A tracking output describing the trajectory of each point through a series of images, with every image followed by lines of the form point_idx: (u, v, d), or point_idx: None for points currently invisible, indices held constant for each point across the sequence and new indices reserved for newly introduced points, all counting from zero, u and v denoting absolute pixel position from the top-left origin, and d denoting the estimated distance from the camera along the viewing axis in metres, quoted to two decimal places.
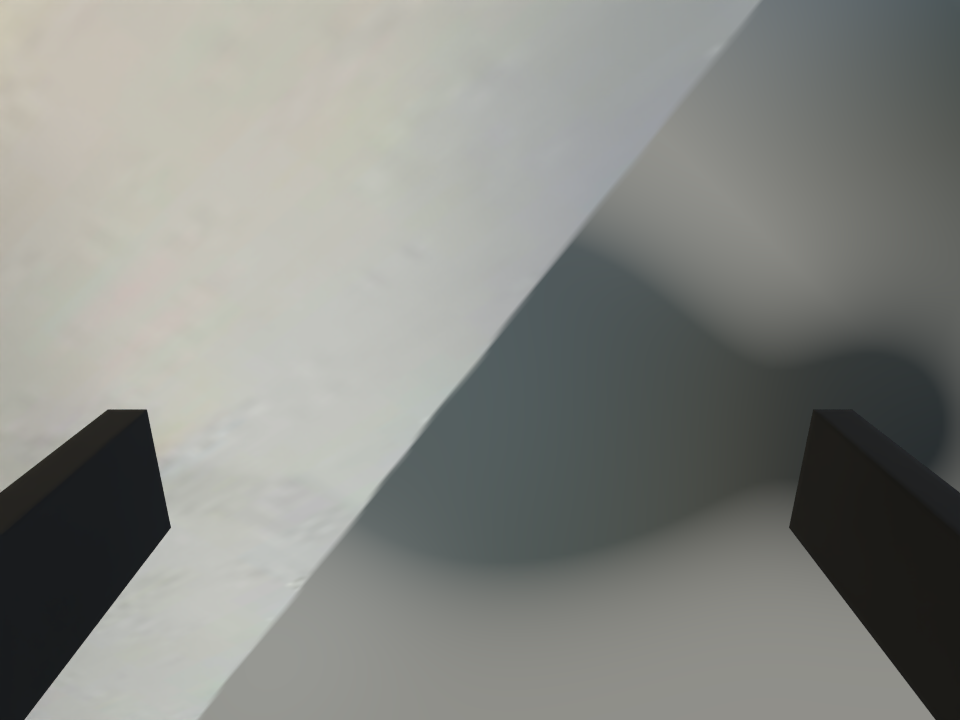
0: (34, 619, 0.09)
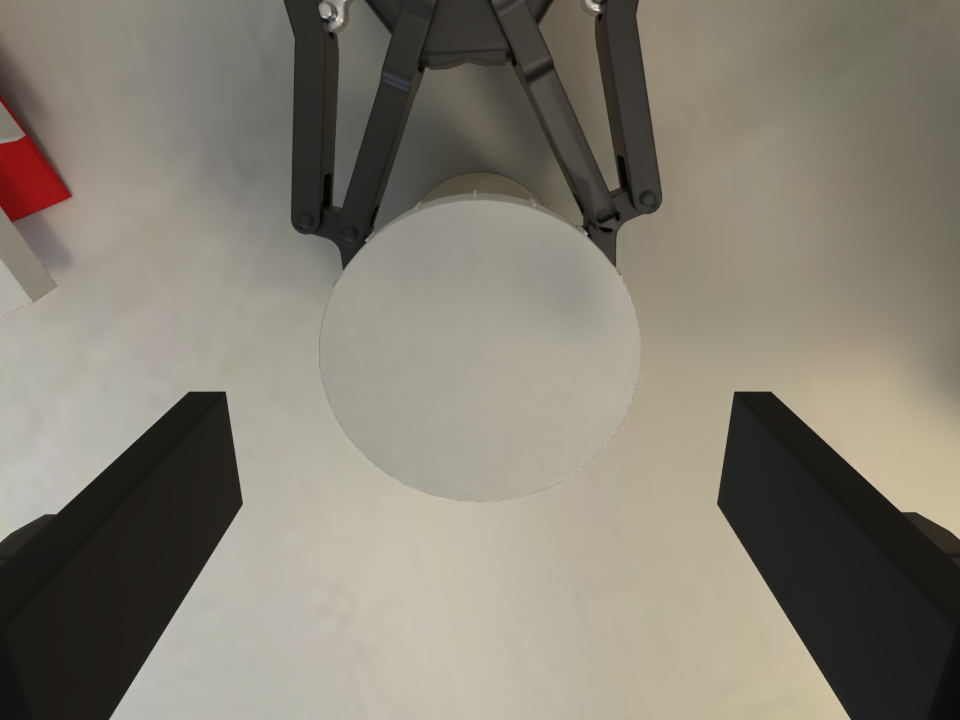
0: (146, 579, 0.10)
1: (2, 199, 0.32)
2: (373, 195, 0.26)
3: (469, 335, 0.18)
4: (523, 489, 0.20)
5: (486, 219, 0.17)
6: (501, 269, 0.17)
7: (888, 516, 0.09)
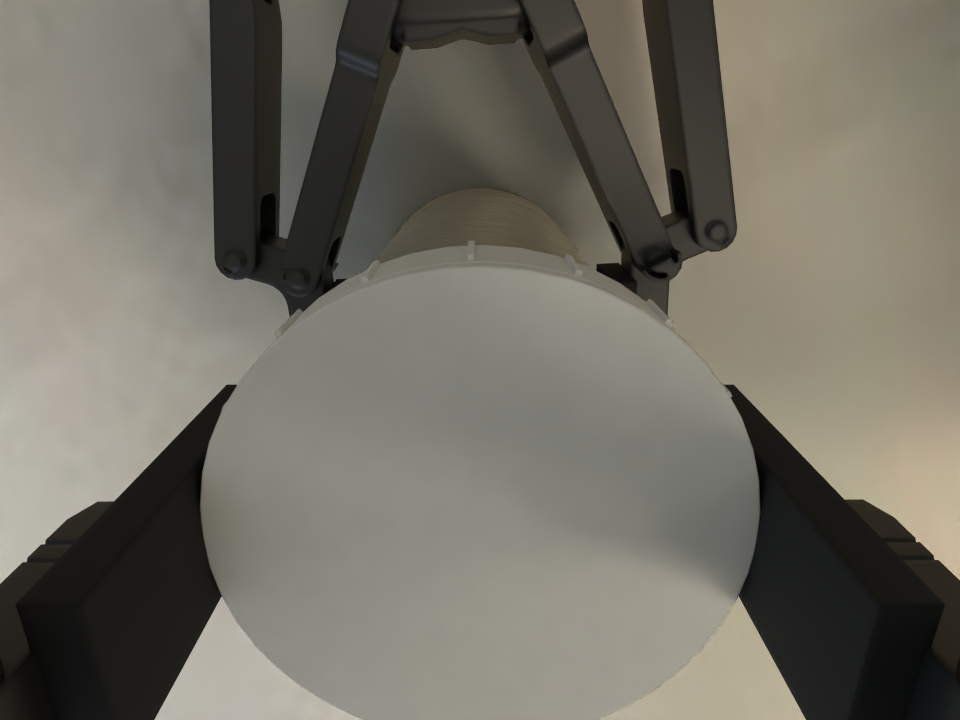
0: (197, 563, 0.10)
1: None
2: (330, 226, 0.19)
3: (461, 495, 0.10)
4: None
5: (491, 301, 0.09)
6: (518, 387, 0.10)
7: (829, 502, 0.09)
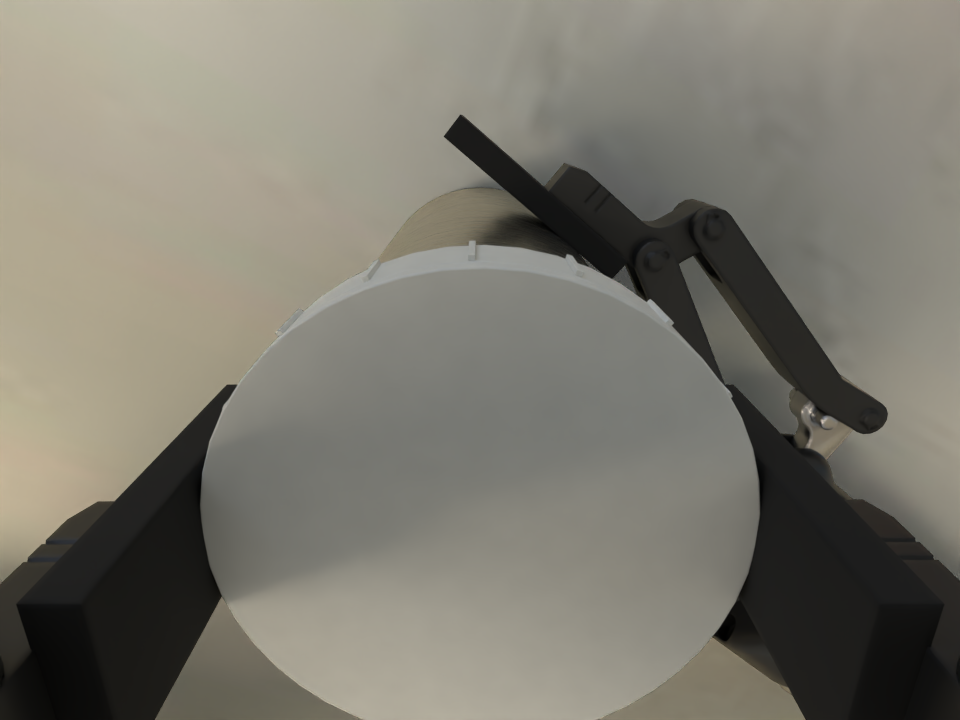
0: (197, 563, 0.10)
1: None
2: None
3: (461, 495, 0.10)
4: None
5: (492, 301, 0.09)
6: (519, 387, 0.10)
7: (829, 502, 0.09)
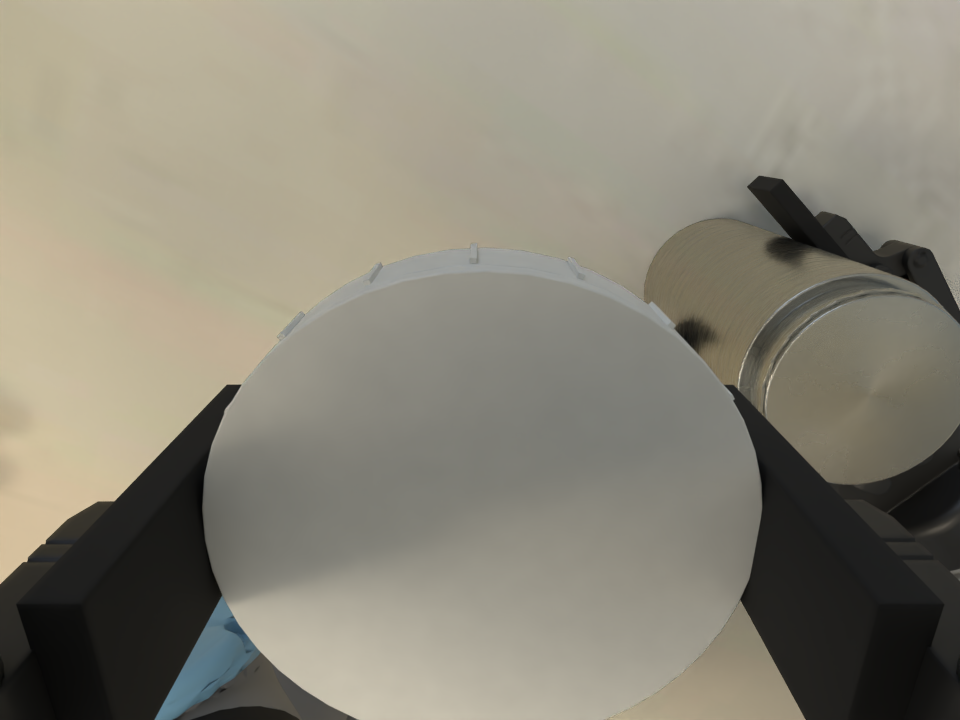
0: (197, 564, 0.10)
1: None
2: None
3: (463, 498, 0.10)
4: None
5: (494, 304, 0.09)
6: (521, 390, 0.10)
7: (829, 502, 0.09)
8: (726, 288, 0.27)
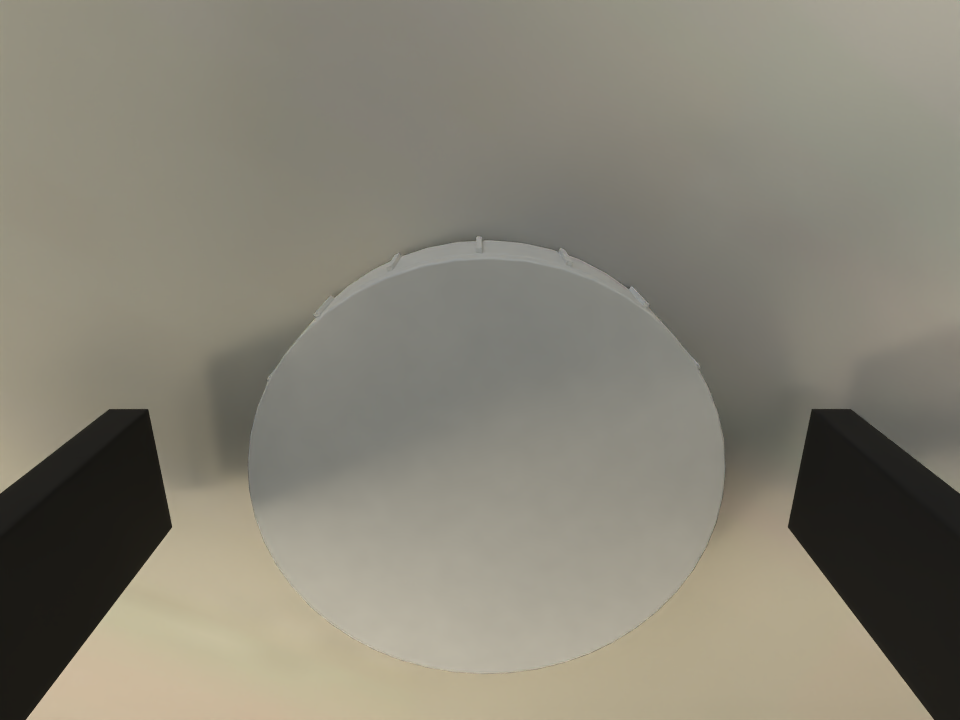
0: (36, 618, 0.09)
1: None
2: None
3: (470, 453, 0.12)
4: (547, 658, 0.14)
5: (496, 286, 0.11)
6: (519, 360, 0.11)
7: None
8: None
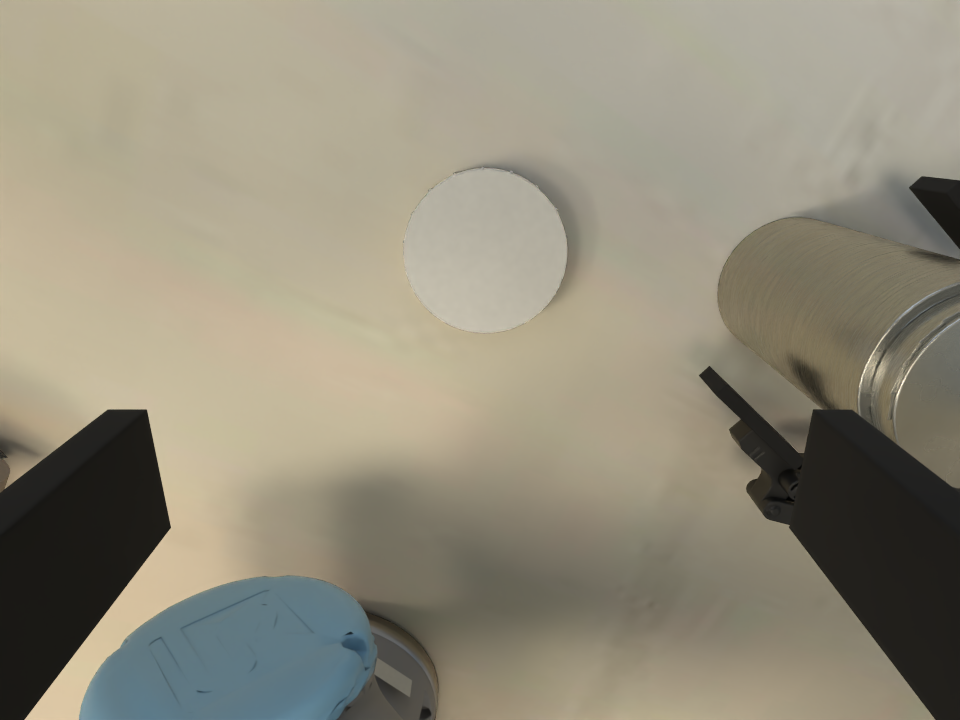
0: (34, 619, 0.09)
1: None
2: None
3: (480, 239, 0.35)
4: (508, 325, 0.37)
5: (488, 179, 0.34)
6: (496, 204, 0.35)
7: None
8: (830, 291, 0.27)
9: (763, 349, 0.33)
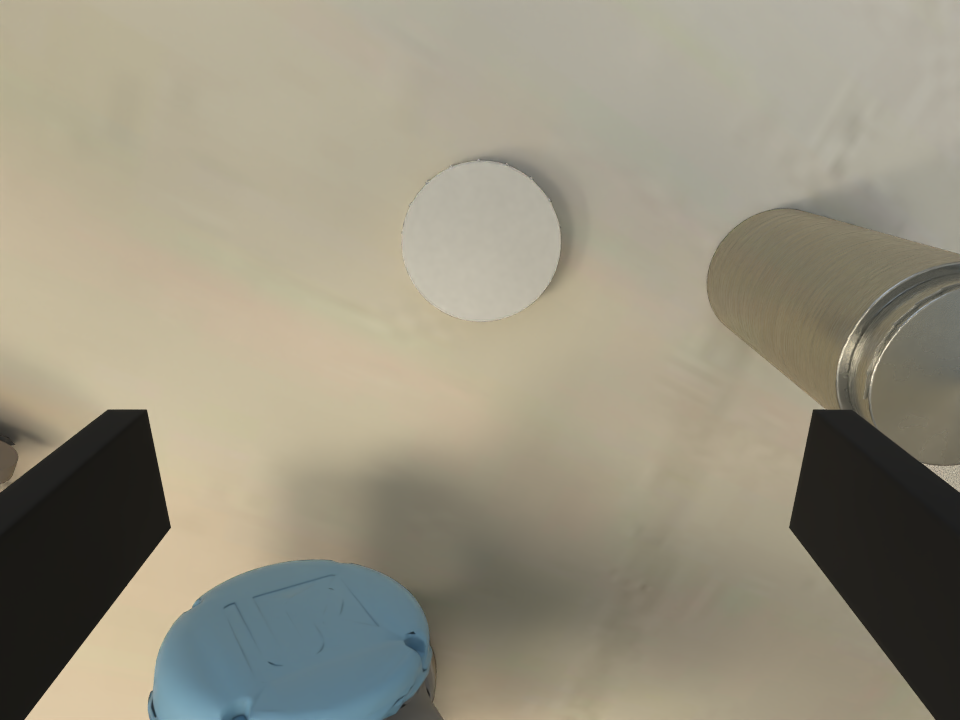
0: (35, 619, 0.09)
1: None
2: None
3: (476, 230, 0.36)
4: (503, 314, 0.38)
5: (484, 171, 0.35)
6: (491, 196, 0.36)
7: None
8: (812, 278, 0.28)
9: (750, 336, 0.34)
